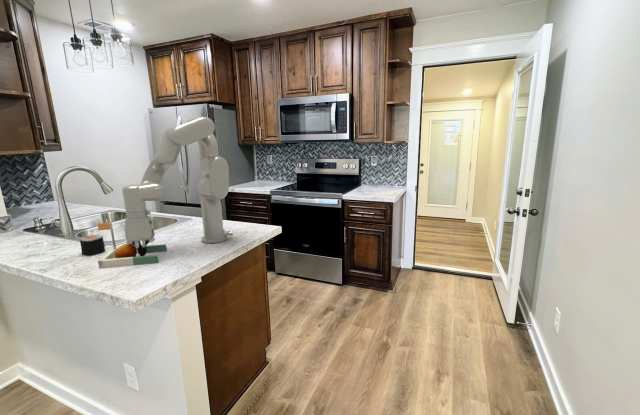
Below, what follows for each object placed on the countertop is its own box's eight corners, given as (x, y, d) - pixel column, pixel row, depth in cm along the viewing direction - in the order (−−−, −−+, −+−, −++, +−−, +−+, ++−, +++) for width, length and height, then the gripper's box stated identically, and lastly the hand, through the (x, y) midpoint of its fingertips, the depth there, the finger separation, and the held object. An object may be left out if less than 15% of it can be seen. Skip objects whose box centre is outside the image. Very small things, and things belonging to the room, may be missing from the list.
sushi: (89, 257, 133) (86, 239, 131) (79, 254, 136) (75, 237, 135) (108, 251, 140) (106, 234, 138) (98, 248, 143) (95, 232, 142)
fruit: (133, 260, 125) (121, 244, 123) (119, 269, 126) (107, 253, 125) (145, 253, 132) (134, 238, 131) (132, 261, 134) (121, 246, 133)
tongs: (166, 250, 140) (162, 219, 136) (157, 262, 125) (152, 228, 122) (104, 255, 134) (98, 223, 131) (87, 269, 120) (80, 233, 116)
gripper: (158, 211, 132) (164, 250, 136) (120, 213, 128) (127, 253, 133) (153, 215, 125) (159, 256, 129) (113, 217, 121) (120, 260, 125)
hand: (143, 255), depth 131 cm, fingers closed
